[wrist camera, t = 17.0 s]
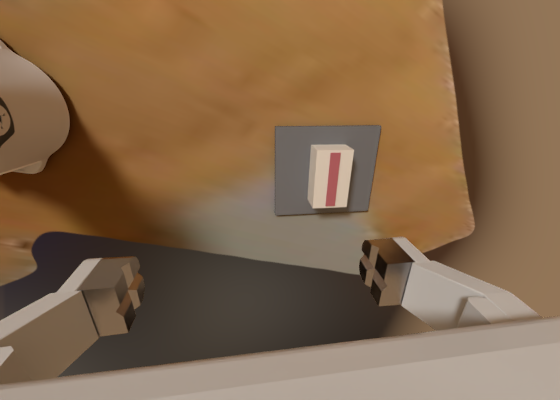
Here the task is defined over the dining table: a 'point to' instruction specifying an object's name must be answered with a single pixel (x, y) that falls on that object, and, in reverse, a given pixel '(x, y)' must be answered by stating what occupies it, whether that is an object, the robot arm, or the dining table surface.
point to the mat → (296, 164)
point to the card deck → (329, 175)
